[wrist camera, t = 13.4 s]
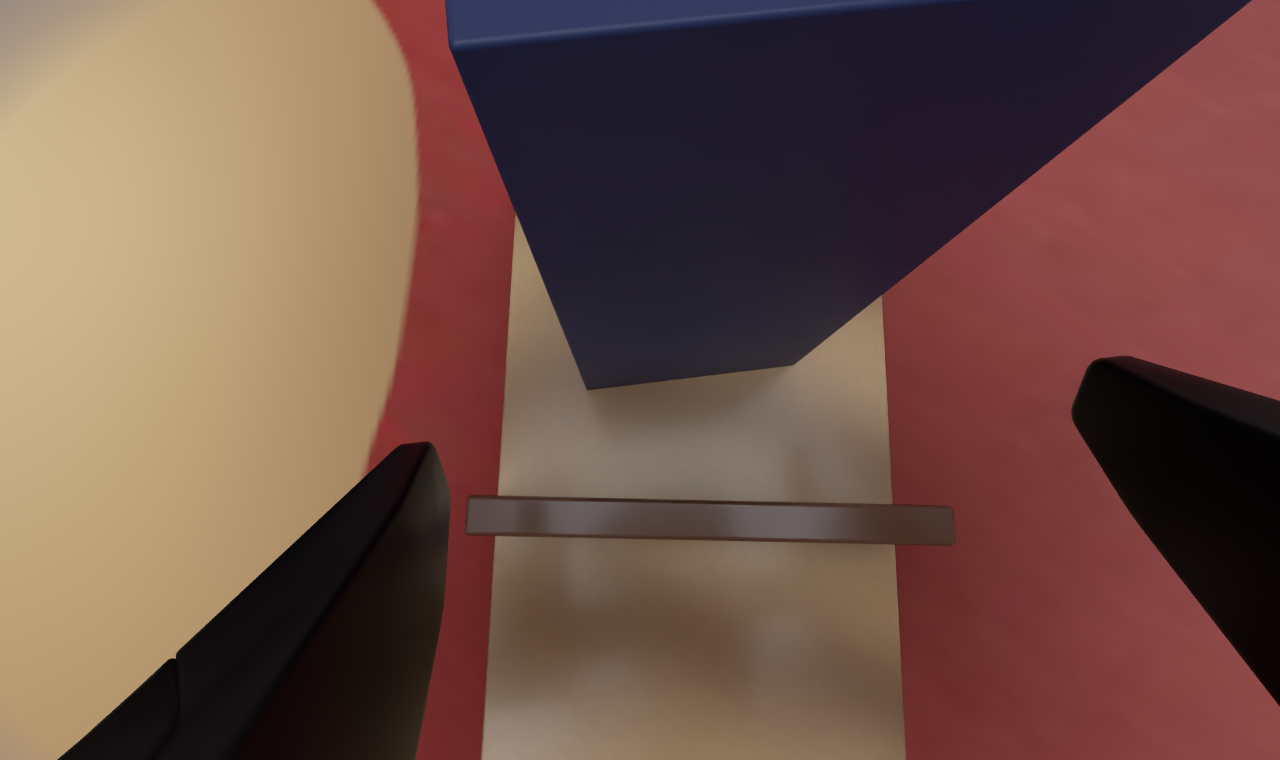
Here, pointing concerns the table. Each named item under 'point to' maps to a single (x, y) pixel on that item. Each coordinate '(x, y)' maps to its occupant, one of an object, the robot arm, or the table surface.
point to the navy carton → (777, 150)
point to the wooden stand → (694, 556)
